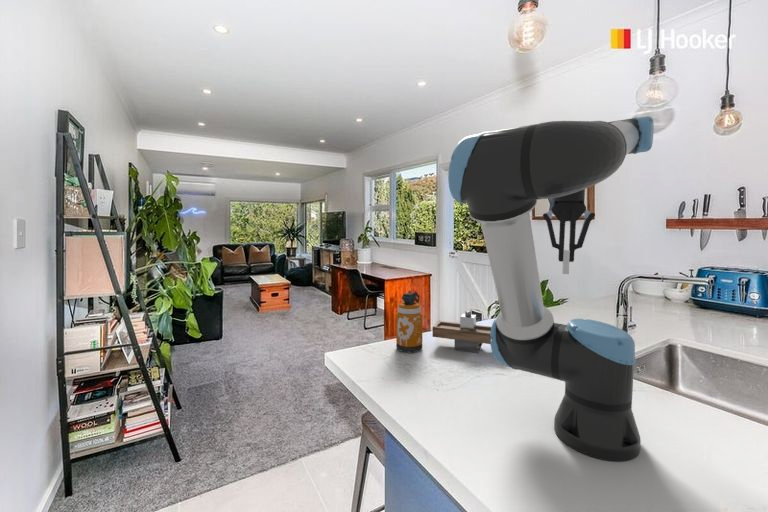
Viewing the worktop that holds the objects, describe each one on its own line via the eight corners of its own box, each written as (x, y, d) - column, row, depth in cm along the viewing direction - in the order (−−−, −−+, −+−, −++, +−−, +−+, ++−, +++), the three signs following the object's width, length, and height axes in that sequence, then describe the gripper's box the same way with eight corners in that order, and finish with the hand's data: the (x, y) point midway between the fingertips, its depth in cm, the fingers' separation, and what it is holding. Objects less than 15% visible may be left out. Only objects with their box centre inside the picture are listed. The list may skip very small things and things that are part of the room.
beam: (501, 357, 116) (502, 334, 115) (432, 347, 125) (432, 326, 125) (503, 349, 124) (504, 327, 123) (438, 340, 133) (438, 320, 132)
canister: (392, 351, 123) (391, 293, 121) (405, 341, 132) (405, 287, 130) (416, 355, 119) (416, 295, 117) (428, 345, 128) (428, 289, 126)
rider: (473, 332, 121) (473, 313, 120) (460, 331, 123) (460, 312, 122) (475, 328, 125) (476, 310, 124) (462, 327, 127) (463, 309, 126)
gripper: (595, 187, 98) (590, 272, 101) (543, 189, 104) (540, 270, 106) (598, 185, 92) (594, 276, 94) (543, 187, 97) (539, 274, 99)
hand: (565, 273), depth 100 cm, fingers closed
